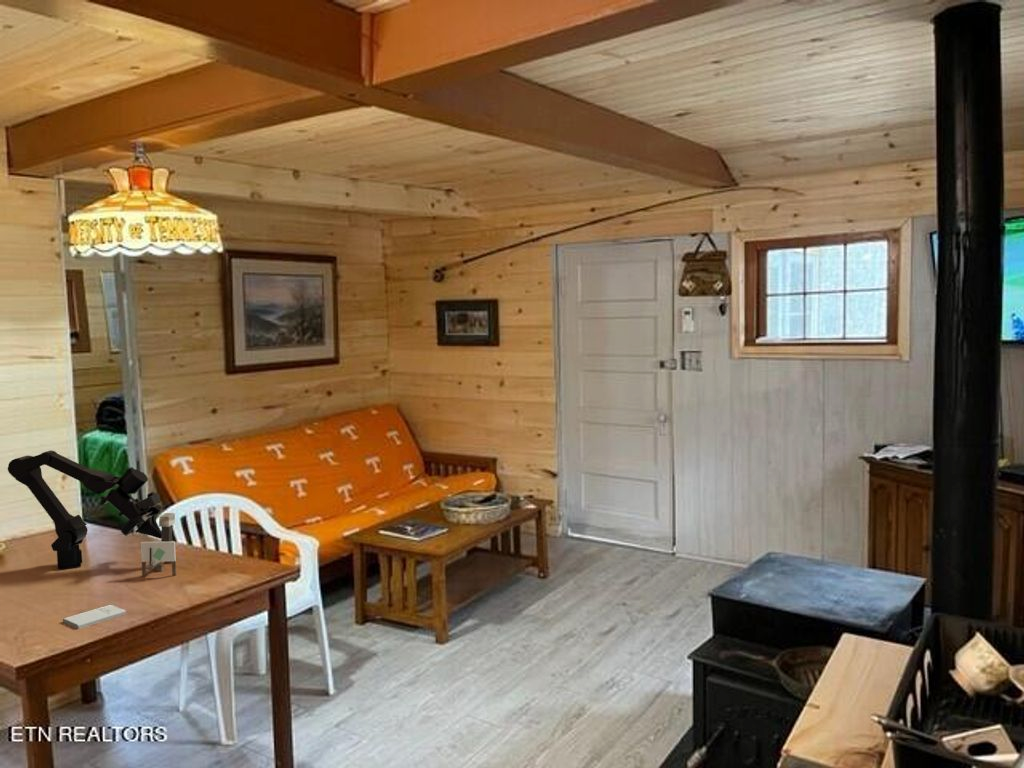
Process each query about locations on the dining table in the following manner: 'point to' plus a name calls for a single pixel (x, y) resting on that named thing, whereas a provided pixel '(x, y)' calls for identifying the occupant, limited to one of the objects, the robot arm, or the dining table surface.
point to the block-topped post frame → (164, 532)
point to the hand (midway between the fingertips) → (162, 537)
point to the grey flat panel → (158, 551)
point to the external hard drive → (94, 616)
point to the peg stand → (160, 567)
